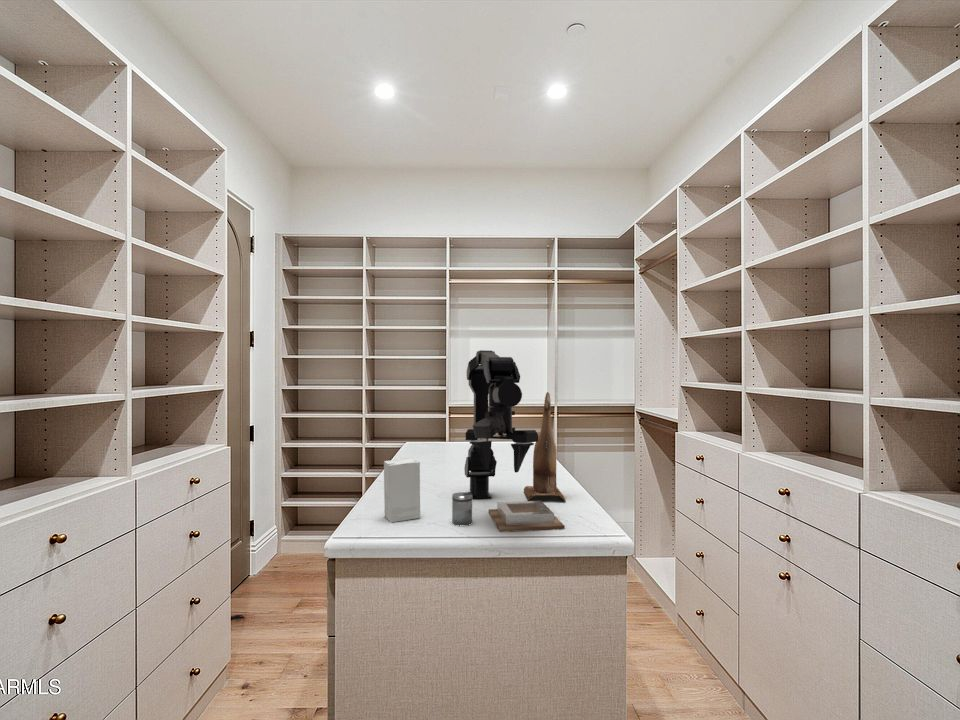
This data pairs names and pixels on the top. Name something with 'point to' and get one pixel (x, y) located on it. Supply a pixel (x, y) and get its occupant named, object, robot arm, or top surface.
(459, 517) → the cylinder
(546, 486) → the bird sculpture
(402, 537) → the top surface
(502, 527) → the walnut board
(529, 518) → the grey square tray
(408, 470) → the skincare box
